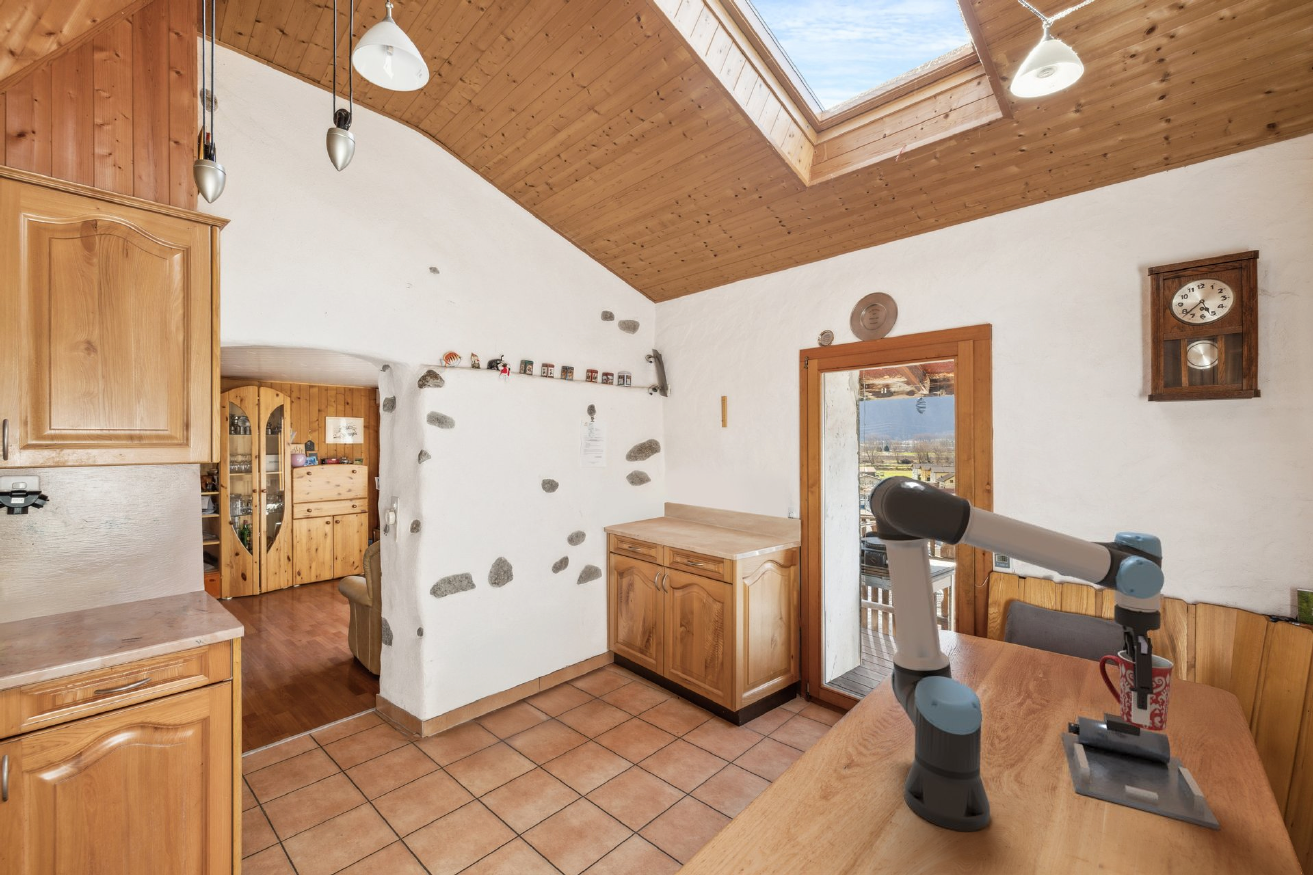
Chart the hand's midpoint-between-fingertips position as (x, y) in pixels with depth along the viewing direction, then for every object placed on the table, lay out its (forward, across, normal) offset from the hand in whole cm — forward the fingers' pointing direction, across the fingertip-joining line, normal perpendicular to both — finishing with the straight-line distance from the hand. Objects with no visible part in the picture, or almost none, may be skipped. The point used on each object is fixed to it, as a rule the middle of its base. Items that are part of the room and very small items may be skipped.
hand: (1135, 713), depth 121 cm
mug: (+2, +1, 0) cm, 2 cm away
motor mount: (+15, +4, 0) cm, 16 cm away
